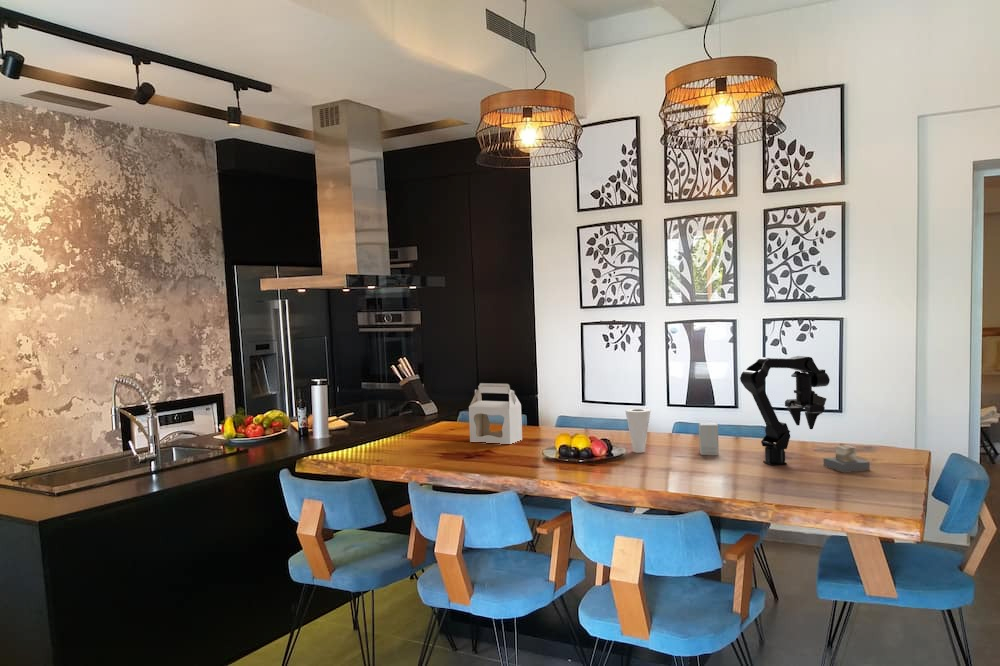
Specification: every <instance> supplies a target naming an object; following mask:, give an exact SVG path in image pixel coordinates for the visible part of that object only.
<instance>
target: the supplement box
mask: <svg viewBox="0 0 1000 666" xmlns="http://www.w3.org/2000/svg"><path fill="white" fill-rule="evenodd" d="M698 439H699V440H698V442H699V443H698V446H699V448H698V449H699V453H700V455H701V456H719V455H720V452H719V449H720V448H719V425H718V423H717V422H698Z"/></svg>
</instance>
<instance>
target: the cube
mask: <svg viewBox="0 0 1000 666" xmlns="http://www.w3.org/2000/svg"><path fill="white" fill-rule="evenodd" d="M835 457H836V459H837V460H840V461H843V462H851V461H857V459H858V458H857V447H856V446H851V445H847V444H845V445H835Z"/></svg>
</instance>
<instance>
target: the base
mask: <svg viewBox="0 0 1000 666" xmlns="http://www.w3.org/2000/svg"><path fill="white" fill-rule="evenodd" d="M870 464H871V463H870V461H867V460H864V459H861V458H857V461H851V462H843V461H840V460H837V459H836V456H835V457H834V456H832V457H824V458H823V467H825V466H827V467H826V468H828V467H829V469H831V468H833V469H832V470H834V469H836V470H835V471H837V470H838V471H837V472H840V471H841V472H840V473H850V472H849V471H855V472H862V471H861V470H867V471H870Z"/></svg>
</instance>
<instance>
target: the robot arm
mask: <svg viewBox="0 0 1000 666" xmlns="http://www.w3.org/2000/svg"><path fill="white" fill-rule="evenodd" d="M774 368H775V369H790V370H794V371H793V372H794V373H792V374H791V377H792V378H795V389H793V393H794V394H795V397H796V398H791V399H790V398H789V399H788V398H787V399H786V400H785V401H784V407H786V409H787V410H788V412H789V413H790V415H791V417H792V420H793V421H794V423H795V425H796V426H800V423H801V413H802V411H803V410H805V411H804V415H805V418H806V422H807V425H808V428H809V430H813V429H814V426H815V423H816V421H817V418H818V417H819V415H822V414H823V413H824V412H825V411H826V408H825V405H826V401H827V398H826V397H824V396H820V395H818V393H816V391H815V390H813V388H822V387H828V386H829V384H830V381H831V380H830V377H829V375H828V373H827V372H826V369H822V368H821V369H819V367H818V366H817V365H816V363H815V361H814V359H813V357H811V356H804V355H802V356H801V355H797V356H791V357H789V358H778V357H777V358H776V357H775V358H772V357H771V358H770V357H764V356H762V357H760V358H758V359H757V360H756V361H755V362H754V363H752V364H750V365H749V366H748V367H747V368H746V369H745V370H743V372H741V375H740V377H739V379H740V383H741V384H742V385H743V387H744V389H746V390H747V391H748V392H749V393H750V394H751V396H752V397H753V400H754V402H755V404H756V406H757V408H758V410H759V412H760V415H761V416H762V419H763V421H764V423H765V429H764V430H765V436H764V437H763V438H762V440H761V441H760V442H761V443H760V444H761V445H762V447H764V454H765V455H764V457H765V458H764V459H765V460H763V461H762V462H763V463H764V464H768V465H770V466H779V465H780V464H782V465H787V464H788V463H787V462H786V451H785V450H787V449H788V446H789V442H790V439H791V430H790V429H789V426H788V425H787V423H786V422H782V421H780V420H779V419H778V417H777V414H776V412H775V410H774V408H773V405H772V403H771V401H770V399H769V396H768V395H767V393H766V390H765V389H766V381H765V379H766V378H767V377H768V375H769V372H770V370H771V369H774ZM780 466H781V465H780Z"/></svg>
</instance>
